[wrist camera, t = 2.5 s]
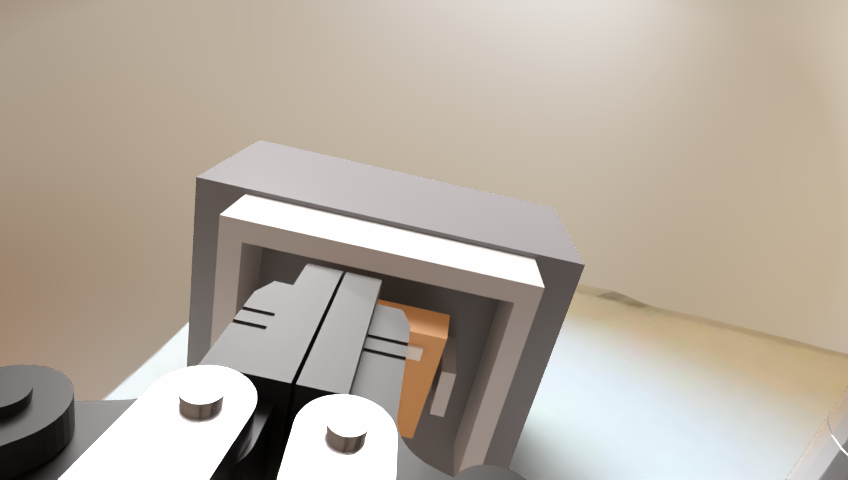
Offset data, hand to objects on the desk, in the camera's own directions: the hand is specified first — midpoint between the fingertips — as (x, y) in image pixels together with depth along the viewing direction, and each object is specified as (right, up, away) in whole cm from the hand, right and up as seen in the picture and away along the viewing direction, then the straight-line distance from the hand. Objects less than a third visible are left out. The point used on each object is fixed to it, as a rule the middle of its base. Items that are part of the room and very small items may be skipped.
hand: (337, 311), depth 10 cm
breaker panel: (-4, -12, +28) cm, 31 cm away
